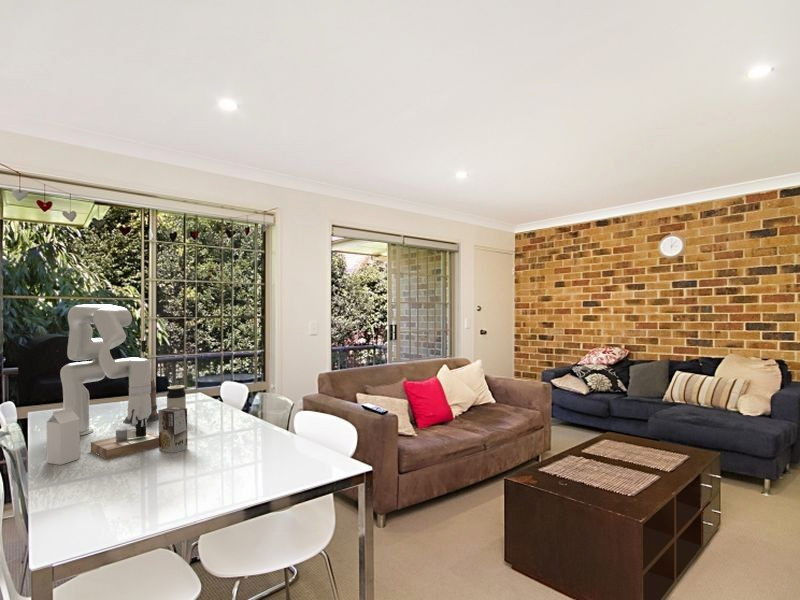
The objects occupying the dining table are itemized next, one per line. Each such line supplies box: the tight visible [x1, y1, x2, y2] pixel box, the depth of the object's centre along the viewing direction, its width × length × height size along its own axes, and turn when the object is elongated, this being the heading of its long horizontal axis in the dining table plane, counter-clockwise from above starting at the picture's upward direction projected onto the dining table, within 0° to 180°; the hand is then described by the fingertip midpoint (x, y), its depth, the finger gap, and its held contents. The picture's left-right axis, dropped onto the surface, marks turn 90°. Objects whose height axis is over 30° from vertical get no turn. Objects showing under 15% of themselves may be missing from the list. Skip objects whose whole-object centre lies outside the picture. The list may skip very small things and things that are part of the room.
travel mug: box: [166, 384, 187, 408], centre depth 220 cm, size 8×8×18 cm
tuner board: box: [90, 430, 159, 460], centre depth 184 cm, size 16×20×4 cm
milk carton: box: [46, 408, 81, 466], centre depth 169 cm, size 7×7×19 cm
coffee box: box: [157, 407, 189, 454], centre depth 181 cm, size 9×6×16 cm
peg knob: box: [115, 428, 137, 442], centre depth 184 cm, size 10×4×4 cm, turn 120°
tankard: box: [122, 377, 159, 425], centre depth 227 cm, size 24×17×20 cm
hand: (141, 436), depth 183 cm, fingers closed
